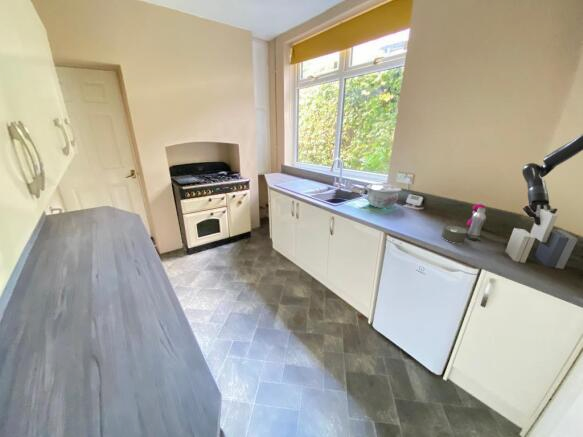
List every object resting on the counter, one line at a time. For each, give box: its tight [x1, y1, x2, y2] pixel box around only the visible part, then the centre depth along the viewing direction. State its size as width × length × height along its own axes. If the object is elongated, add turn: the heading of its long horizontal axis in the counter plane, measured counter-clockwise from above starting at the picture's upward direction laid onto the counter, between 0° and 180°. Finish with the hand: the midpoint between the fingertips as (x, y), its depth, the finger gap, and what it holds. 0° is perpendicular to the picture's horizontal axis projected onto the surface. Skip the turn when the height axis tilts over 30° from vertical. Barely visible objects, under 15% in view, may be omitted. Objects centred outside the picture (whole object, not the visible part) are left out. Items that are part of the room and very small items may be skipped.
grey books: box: [533, 228, 578, 270], centre depth 116 cm, size 6×11×16 cm, turn 158°
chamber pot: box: [360, 182, 402, 209], centre depth 198 cm, size 28×28×21 cm
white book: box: [529, 209, 558, 242], centre depth 119 cm, size 2×11×14 cm, turn 158°
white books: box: [504, 227, 536, 264], centre depth 121 cm, size 4×11×14 cm, turn 159°
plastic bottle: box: [466, 207, 487, 242], centre depth 139 cm, size 6×7×20 cm
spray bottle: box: [466, 201, 486, 227], centre depth 151 cm, size 7×7×20 cm
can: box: [441, 224, 468, 244], centre depth 141 cm, size 12×12×7 cm
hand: (541, 224), depth 120 cm, fingers closed on white book, 2 cm apart
